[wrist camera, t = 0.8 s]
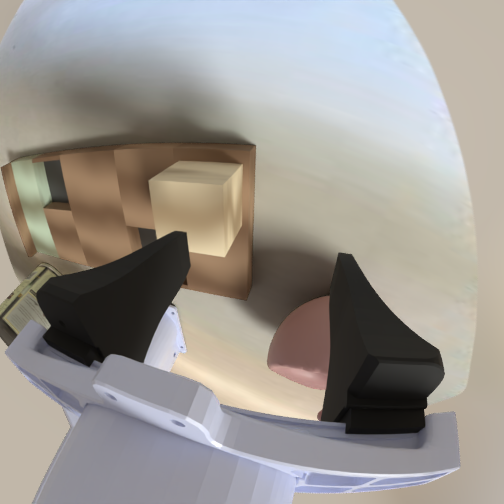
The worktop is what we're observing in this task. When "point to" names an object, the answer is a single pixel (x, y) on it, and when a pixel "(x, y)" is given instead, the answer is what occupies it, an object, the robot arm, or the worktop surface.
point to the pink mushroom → (303, 345)
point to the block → (199, 204)
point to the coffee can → (24, 304)
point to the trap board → (122, 207)
